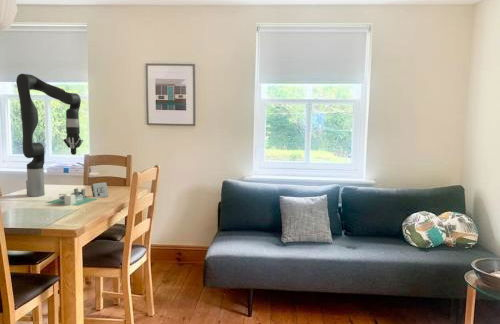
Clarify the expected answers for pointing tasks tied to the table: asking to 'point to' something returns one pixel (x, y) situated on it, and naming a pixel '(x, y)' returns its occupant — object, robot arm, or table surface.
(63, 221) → the table surface
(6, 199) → the table surface
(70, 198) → the latch
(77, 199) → the white slotted block
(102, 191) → the electrical switch
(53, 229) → the table surface
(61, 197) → the thin grey panel
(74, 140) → the robot arm
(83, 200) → the board
